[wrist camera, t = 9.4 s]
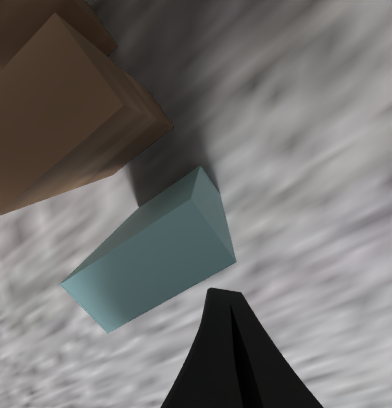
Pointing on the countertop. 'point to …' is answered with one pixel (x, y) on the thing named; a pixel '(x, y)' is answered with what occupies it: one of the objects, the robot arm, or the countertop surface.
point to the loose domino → (155, 253)
